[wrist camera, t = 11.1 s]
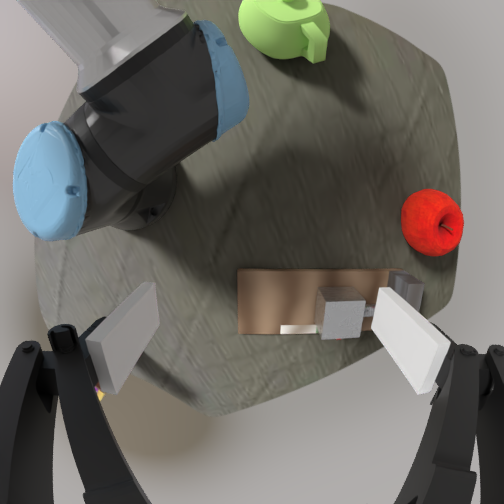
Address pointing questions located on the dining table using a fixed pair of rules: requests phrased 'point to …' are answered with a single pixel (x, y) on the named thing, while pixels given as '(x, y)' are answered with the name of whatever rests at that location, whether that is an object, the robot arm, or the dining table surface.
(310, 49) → the teapot
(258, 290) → the rail
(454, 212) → the apple
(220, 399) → the dining table surface
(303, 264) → the dining table surface
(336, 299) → the grey slider block
